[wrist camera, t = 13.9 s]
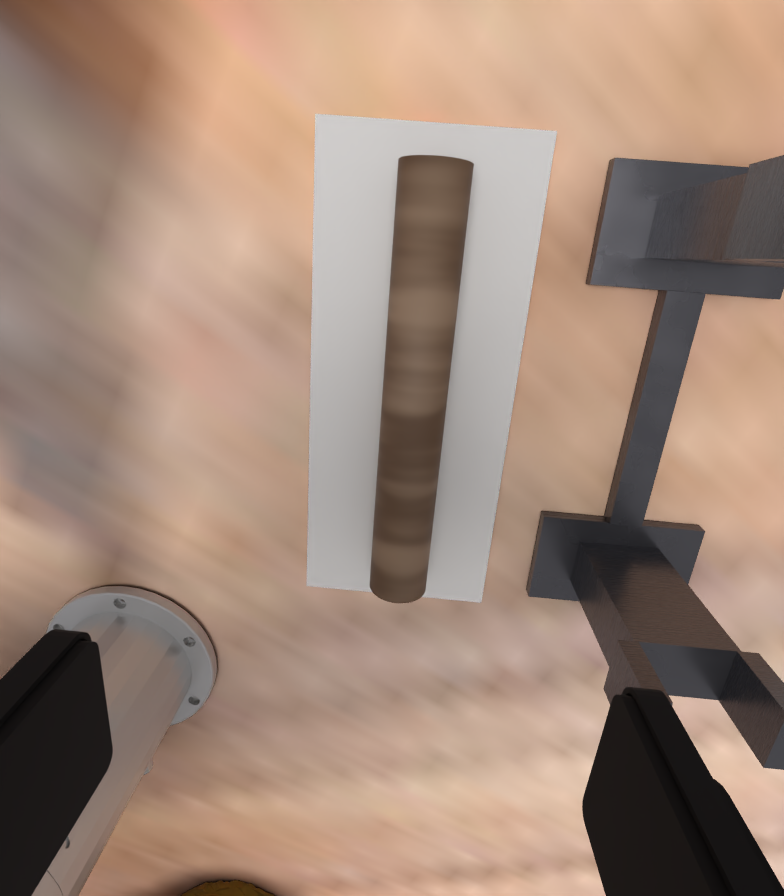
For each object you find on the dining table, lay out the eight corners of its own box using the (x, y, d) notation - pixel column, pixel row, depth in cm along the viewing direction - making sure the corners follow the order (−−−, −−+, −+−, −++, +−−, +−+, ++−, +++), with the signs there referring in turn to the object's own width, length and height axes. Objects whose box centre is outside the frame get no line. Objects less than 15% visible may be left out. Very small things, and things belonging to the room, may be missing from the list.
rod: (421, 569, 35) (429, 603, 32) (368, 568, 35) (370, 603, 31) (464, 170, 27) (482, 159, 23) (395, 164, 26) (402, 151, 23)
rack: (673, 603, 35) (815, 798, 23) (526, 589, 36) (583, 774, 23) (809, 175, 26) (1172, 100, 14) (609, 160, 27) (782, 74, 14)
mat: (480, 597, 36) (481, 602, 36) (308, 580, 36) (306, 585, 36) (554, 133, 26) (556, 131, 26) (317, 116, 27) (315, 113, 26)
